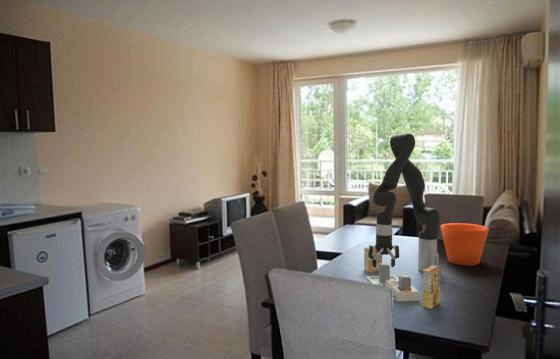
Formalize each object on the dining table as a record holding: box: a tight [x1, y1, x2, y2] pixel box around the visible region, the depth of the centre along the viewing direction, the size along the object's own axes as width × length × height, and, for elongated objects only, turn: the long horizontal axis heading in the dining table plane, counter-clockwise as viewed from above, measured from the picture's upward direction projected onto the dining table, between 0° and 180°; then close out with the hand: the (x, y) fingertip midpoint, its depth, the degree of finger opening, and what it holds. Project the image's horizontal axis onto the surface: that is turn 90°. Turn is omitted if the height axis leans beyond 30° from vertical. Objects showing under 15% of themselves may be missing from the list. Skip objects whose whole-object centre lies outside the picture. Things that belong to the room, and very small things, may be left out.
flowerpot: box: [439, 222, 490, 266], centre depth 232 cm, size 25×25×20 cm
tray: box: [366, 274, 398, 287], centre depth 196 cm, size 14×12×2 cm
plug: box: [378, 262, 391, 283], centre depth 195 cm, size 4×4×9 cm
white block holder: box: [385, 274, 419, 302], centre depth 181 cm, size 16×9×10 cm, turn 3°
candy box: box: [421, 265, 442, 309], centre depth 168 cm, size 9×4×15 cm, turn 137°
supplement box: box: [363, 246, 383, 273], centre depth 214 cm, size 8×5×13 cm, turn 105°
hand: (383, 267), depth 195 cm, fingers open, 8 cm apart
